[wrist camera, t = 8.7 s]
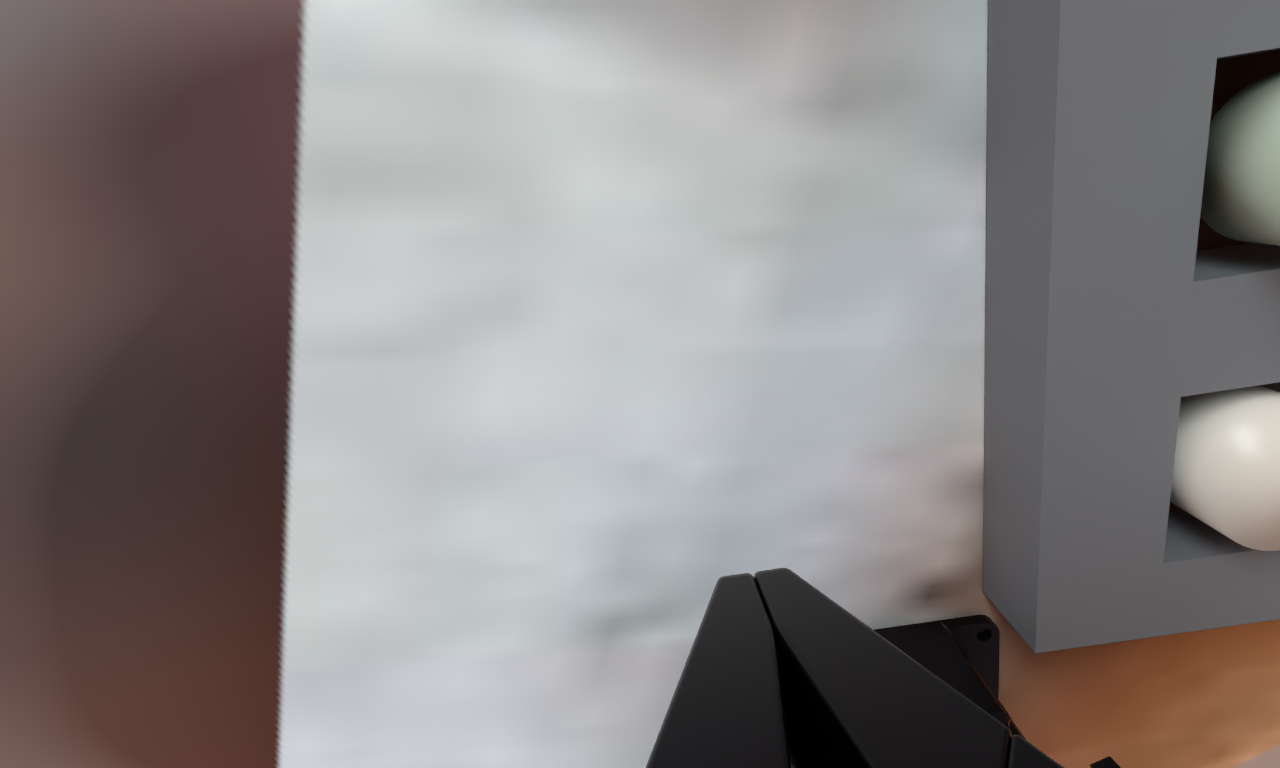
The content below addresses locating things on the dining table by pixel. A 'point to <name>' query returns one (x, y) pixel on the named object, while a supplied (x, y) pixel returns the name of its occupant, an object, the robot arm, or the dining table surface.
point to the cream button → (1231, 464)
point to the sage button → (1245, 165)
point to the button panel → (1113, 318)
